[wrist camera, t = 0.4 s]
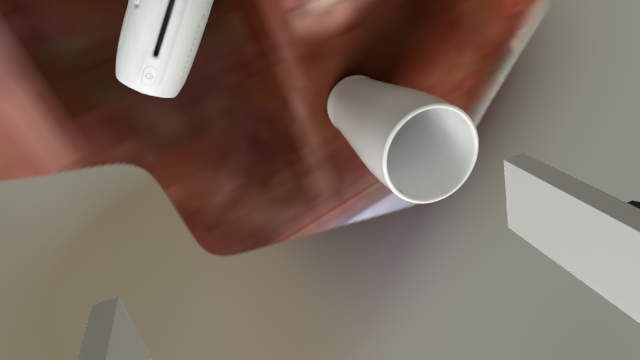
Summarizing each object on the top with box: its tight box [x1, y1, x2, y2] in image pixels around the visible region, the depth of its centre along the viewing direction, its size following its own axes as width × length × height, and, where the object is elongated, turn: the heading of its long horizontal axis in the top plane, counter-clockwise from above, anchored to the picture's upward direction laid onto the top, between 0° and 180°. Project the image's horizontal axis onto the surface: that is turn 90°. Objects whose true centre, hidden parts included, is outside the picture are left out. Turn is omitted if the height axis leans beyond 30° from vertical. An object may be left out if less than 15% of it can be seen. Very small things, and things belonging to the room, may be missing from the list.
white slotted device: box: [116, 0, 214, 98], centre depth 30 cm, size 10×4×12 cm, turn 157°
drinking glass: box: [327, 75, 479, 203], centre depth 36 cm, size 7×7×15 cm
